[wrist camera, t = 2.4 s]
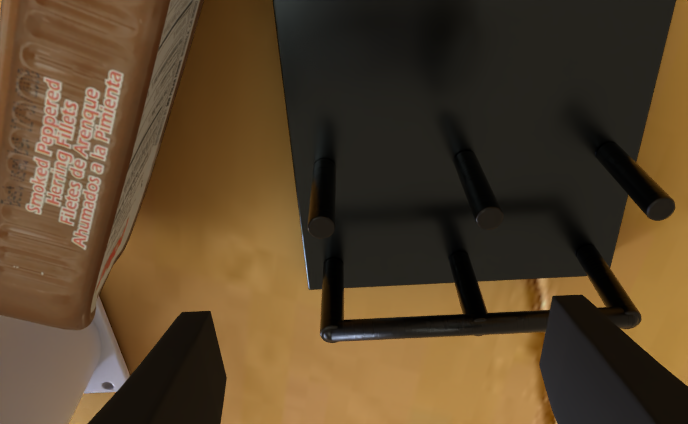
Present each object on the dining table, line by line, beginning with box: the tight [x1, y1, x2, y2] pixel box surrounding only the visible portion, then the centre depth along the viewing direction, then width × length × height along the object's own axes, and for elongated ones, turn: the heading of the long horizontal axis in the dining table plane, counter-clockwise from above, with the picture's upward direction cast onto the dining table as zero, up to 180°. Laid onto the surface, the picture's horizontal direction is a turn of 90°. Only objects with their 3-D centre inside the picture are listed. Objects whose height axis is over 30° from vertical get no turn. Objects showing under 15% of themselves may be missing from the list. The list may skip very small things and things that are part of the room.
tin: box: [0, 0, 204, 330], centre depth 14 cm, size 15×3×8 cm, turn 156°
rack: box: [273, 0, 676, 343], centre depth 15 cm, size 12×20×5 cm, turn 4°
